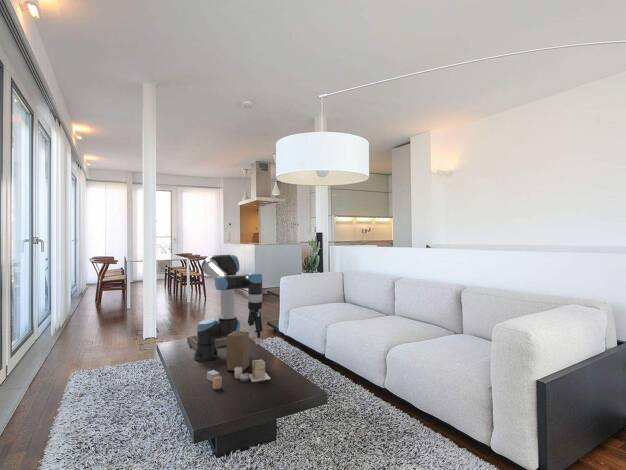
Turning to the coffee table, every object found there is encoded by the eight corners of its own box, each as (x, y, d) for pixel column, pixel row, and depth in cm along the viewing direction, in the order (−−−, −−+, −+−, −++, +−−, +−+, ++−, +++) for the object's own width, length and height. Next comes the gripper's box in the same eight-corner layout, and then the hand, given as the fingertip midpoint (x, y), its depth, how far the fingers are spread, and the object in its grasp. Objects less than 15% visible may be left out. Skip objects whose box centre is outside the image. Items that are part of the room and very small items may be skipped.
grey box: (207, 379, 193) (207, 371, 193) (213, 377, 196) (214, 370, 196) (212, 382, 189) (212, 374, 189) (219, 380, 192) (219, 373, 192)
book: (196, 351, 243) (196, 344, 243) (187, 343, 261) (187, 336, 261) (239, 344, 260) (239, 337, 260) (227, 337, 278) (227, 330, 278)
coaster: (247, 375, 198) (247, 374, 198) (264, 372, 202) (264, 371, 202) (252, 382, 189) (252, 381, 189) (270, 379, 193) (270, 378, 193)
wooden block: (242, 371, 204) (242, 336, 204) (226, 370, 206) (226, 335, 207) (249, 365, 214) (249, 331, 214) (233, 364, 216) (233, 331, 216)
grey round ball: (238, 379, 194) (238, 373, 194) (247, 377, 196) (247, 372, 196) (240, 382, 189) (240, 376, 189) (249, 381, 191) (250, 375, 191)
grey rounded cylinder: (233, 376, 197) (233, 367, 197) (241, 375, 199) (241, 366, 199) (235, 379, 193) (235, 369, 194) (242, 377, 195) (242, 368, 195)
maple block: (252, 375, 197) (252, 360, 197) (262, 373, 199) (262, 359, 199) (255, 378, 192) (255, 363, 192) (265, 377, 194) (265, 362, 195)
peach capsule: (210, 387, 182) (211, 377, 182) (218, 385, 185) (218, 375, 185) (215, 390, 179) (216, 379, 179) (223, 387, 182) (223, 377, 182)
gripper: (242, 298, 207) (242, 335, 207) (254, 306, 184) (254, 347, 184) (255, 297, 210) (254, 333, 210) (268, 305, 187) (268, 346, 187)
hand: (254, 340), depth 197 cm, fingers open, 13 cm apart
